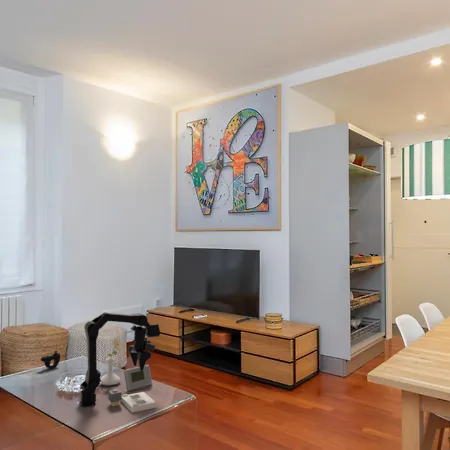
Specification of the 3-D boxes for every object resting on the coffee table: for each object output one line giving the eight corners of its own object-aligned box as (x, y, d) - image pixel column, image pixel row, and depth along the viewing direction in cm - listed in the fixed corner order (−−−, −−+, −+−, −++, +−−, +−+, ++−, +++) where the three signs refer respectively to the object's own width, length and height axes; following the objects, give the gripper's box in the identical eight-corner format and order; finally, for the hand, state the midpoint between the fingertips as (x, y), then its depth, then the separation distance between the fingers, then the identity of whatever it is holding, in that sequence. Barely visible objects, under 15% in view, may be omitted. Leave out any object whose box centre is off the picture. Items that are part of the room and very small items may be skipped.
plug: (111, 407, 202) (111, 392, 202) (108, 404, 206) (108, 389, 206) (121, 405, 204) (121, 390, 205) (117, 402, 209) (118, 387, 209)
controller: (61, 366, 264) (61, 350, 264) (43, 371, 253) (43, 354, 254) (57, 365, 266) (57, 349, 266) (39, 370, 256) (39, 353, 256)
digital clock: (126, 392, 223) (127, 371, 223) (120, 387, 230) (121, 367, 231) (154, 386, 232) (155, 367, 232) (148, 382, 239) (148, 363, 239)
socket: (131, 412, 196) (132, 405, 197) (120, 401, 210) (120, 394, 210) (155, 407, 203) (155, 401, 203) (143, 396, 216) (143, 390, 216)
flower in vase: (109, 388, 227) (110, 342, 228) (94, 384, 233) (96, 339, 234) (126, 382, 238) (127, 337, 239) (112, 378, 244) (113, 335, 245)
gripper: (161, 340, 217) (159, 371, 216) (147, 333, 232) (145, 361, 231) (140, 342, 211) (139, 374, 210) (127, 335, 226) (126, 364, 225)
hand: (138, 368), depth 219 cm, fingers open, 9 cm apart
